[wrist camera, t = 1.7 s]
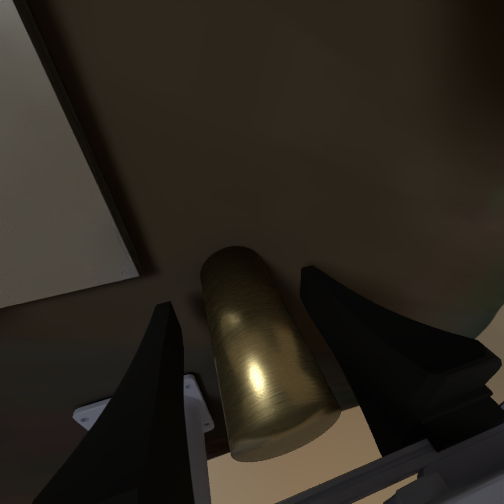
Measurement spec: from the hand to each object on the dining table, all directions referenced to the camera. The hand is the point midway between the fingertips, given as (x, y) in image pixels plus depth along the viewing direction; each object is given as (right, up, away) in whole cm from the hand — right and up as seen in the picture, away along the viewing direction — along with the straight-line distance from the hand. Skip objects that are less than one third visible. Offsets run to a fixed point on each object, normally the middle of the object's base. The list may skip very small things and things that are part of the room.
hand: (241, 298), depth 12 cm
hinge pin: (-1, +1, +2) cm, 2 cm away
